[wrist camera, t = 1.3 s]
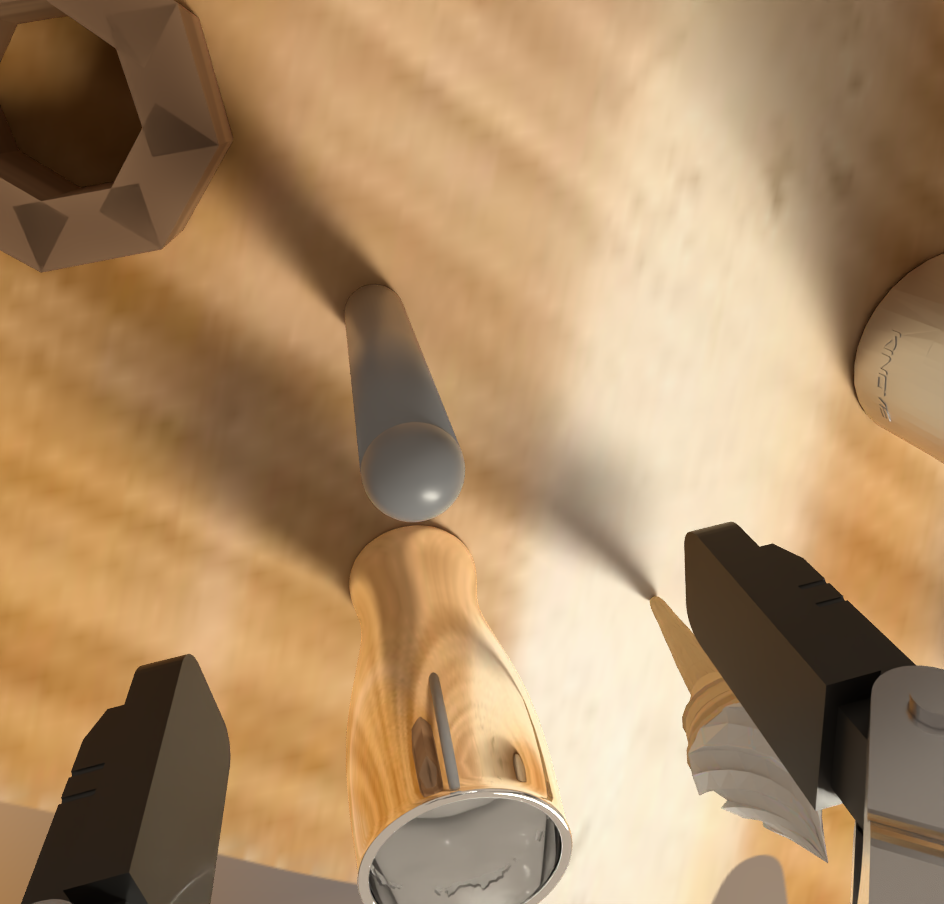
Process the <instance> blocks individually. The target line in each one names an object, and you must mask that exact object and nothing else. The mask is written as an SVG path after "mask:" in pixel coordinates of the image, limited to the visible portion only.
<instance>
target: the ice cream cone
mask: <svg viewBox="0 0 944 904" xmlns="http://www.w3.org/2000/svg"><path fill="white" fill-rule="evenodd" d="M650 606H651V609H652V611H653V613H654V616H655V618H656V620H657V622H658V624H659V626H660V628H661V631H662V633H663V636H664V638H665V640H666V643H667V644H668V647H669V649H670V651H671V653H672V656H673V658H674V661H675V663H676V665H677V668H678V669H679V671H680V673H681V675H682V678H683V680H684V682H685V684H686V686H687V688H688V690H689V692H690V694H691V698H690V701H689V703H688V704H687V705H686V708H685V711H684V714H683V716H682V722H683V729H684V730H685V732H686V736H687V740H688V747H687V763H688V765H689V767H690V769H691V771H692V776H693V779H694V782H695V784H696V787H697V790H698V793H699V795H702V794H704V793H706V792H709V791H715V792H716V793H718V794H719V795H721V796H722V797H724V798H725V799H727V801H726V803H725V804H724V805H723V807H722V808H721V809H724V810H726V811H729V812H731V813H734V814H736V815H739V816H740V817H742V818H747V819H754V820H760V821H763V826H764V827H765V828H767V829H769V830H771V831H773V832H775V833H777V834H779V835H782V836H784V837H786V838H788V839H790V840H792V841H794V842H795V843H797V844H798V845H800V846H802V847H803V848H805V849H807V850H808V851H810V852H811V853H813V854H814V855H816V856H818V857H819V858H821V859H822V860H824V861H825V862H827V863H828V859H827V852H826V845H825V840H824V832H823V823H822V809H821V810H818V811H815V810H814V808H813V807H812V806H811V804H810V803H809V801H808V800H807V798H806V797H805V795H804V794H803V793H802V791H801V790H800V788H799V787H798V785H797V784H796V783H795V781H794V780H793V778H792V777H791V775H790V774H789V772H788V771H787V770H786V768H785V767H784V765H783V764H782V762H781V761H780V759H779V758H778V757H777V755H776V754H775V752H774V751H773V749H772V748H771V747H770V745H769V744H768V742H767V741H766V739H765V738H764V736H763V735H762V734H761V732H760V731H759V729H758V728H757V726H756V725H755V724H754V722H753V721H752V719H751V718H750V716H749V715H748V713H747V712H746V711H745V709H744V708H743V706H742V705H741V703H740V702H739V700H738V699H737V698H736V696H735V695H734V693H733V692H732V690H731V689H730V688H729V686H728V685H727V683H726V682H725V680H724V679H723V677H722V676H721V675H720V673H719V672H718V670H717V669H716V667H715V666H714V665H713V663H712V662H711V660H710V659H709V657H708V656H707V654H706V653H705V652H704V650H703V649H702V647H701V646H700V644H699V643H698V641H697V639H696V637H695V635H694V634H693V633H692V632H691V631H690V629H689V628H688V627H687V626H686V625H685V624H684V623H683V622H682V621H681V620H680V619H679V618H678V616H677V615H676V614H675V613H674V612H673V611H672V609H671V608H670V607H669V606H668V605H667V604H666V602H665V601H663V600H662V599H661V598H659V597H657V596H654V597H652V598H651V599H650Z"/></svg>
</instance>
